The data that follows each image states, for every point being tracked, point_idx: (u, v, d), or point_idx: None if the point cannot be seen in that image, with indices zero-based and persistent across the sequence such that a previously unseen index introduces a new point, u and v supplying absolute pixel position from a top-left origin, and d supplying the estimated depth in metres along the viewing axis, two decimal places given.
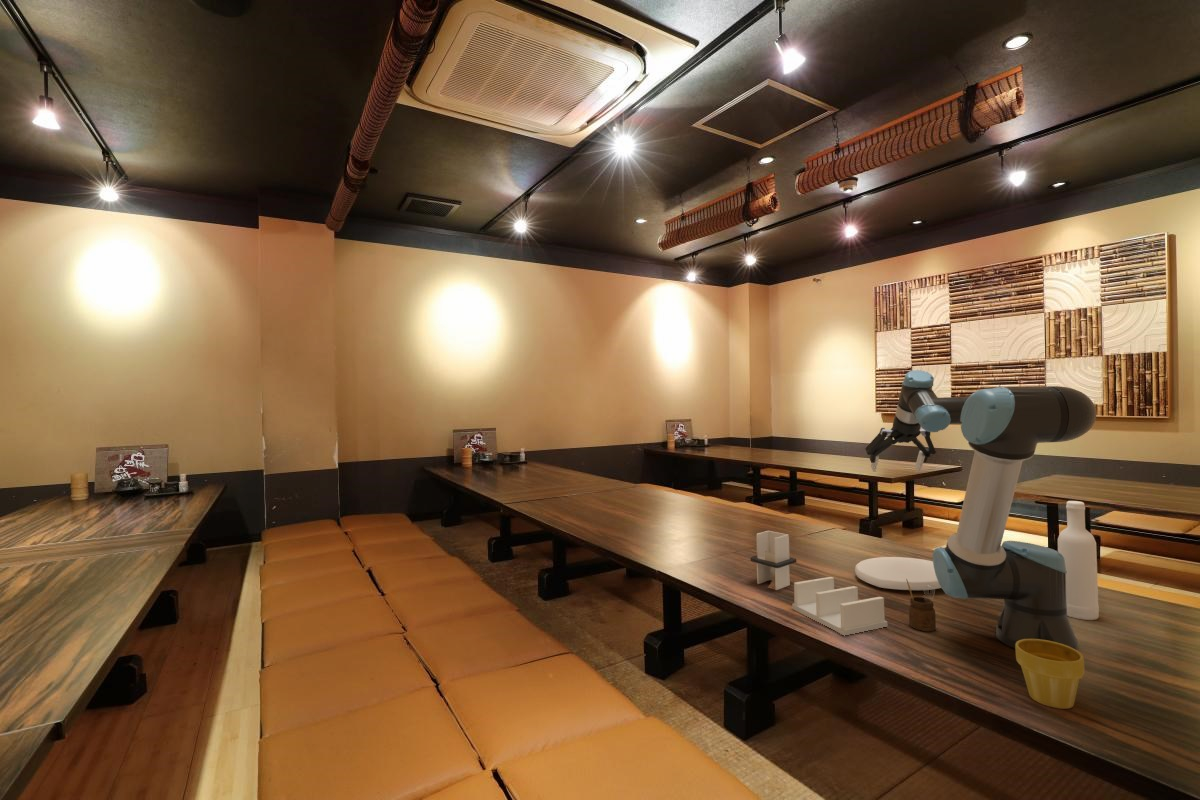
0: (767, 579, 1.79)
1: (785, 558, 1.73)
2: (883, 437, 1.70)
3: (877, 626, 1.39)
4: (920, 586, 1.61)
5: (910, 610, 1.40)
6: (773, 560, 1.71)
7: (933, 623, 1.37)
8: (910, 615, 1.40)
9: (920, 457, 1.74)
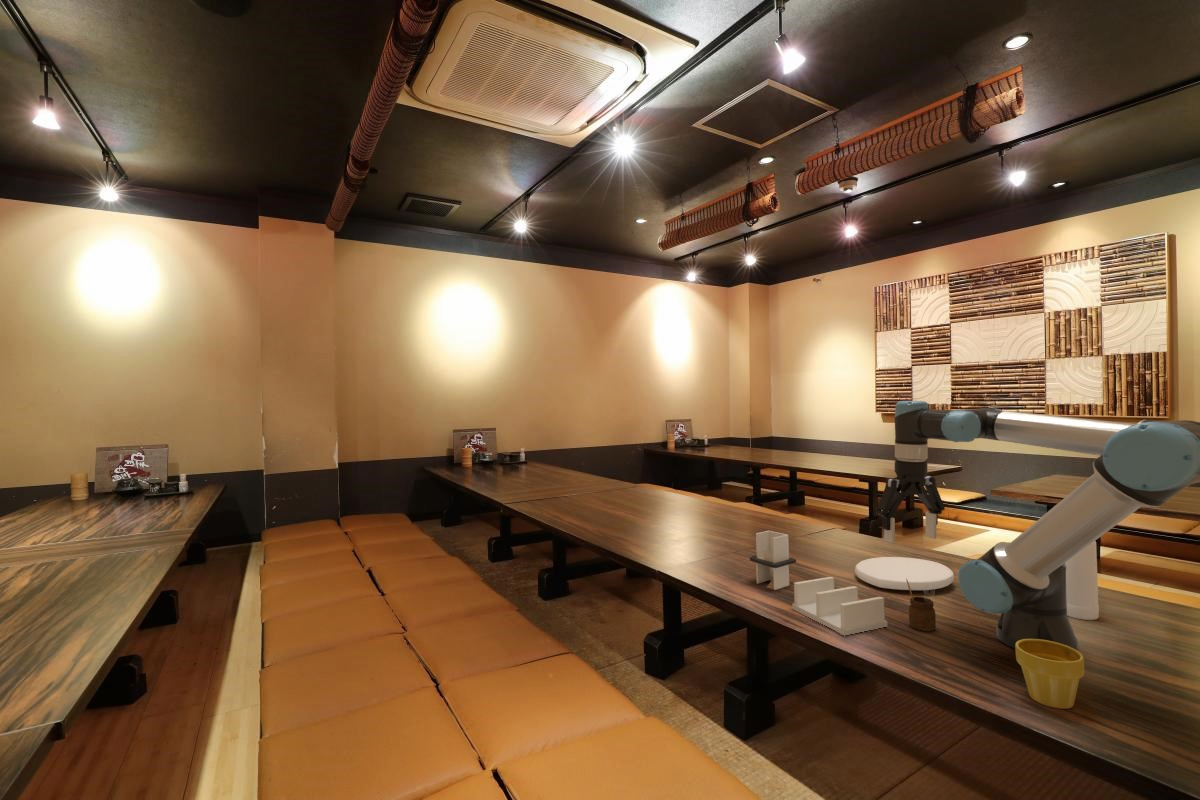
0: (767, 579, 1.79)
1: (784, 558, 1.73)
2: (894, 487, 1.40)
3: (877, 626, 1.39)
4: (920, 586, 1.61)
5: (910, 610, 1.40)
6: (772, 560, 1.71)
7: (933, 623, 1.37)
8: (910, 615, 1.40)
9: (931, 518, 1.45)
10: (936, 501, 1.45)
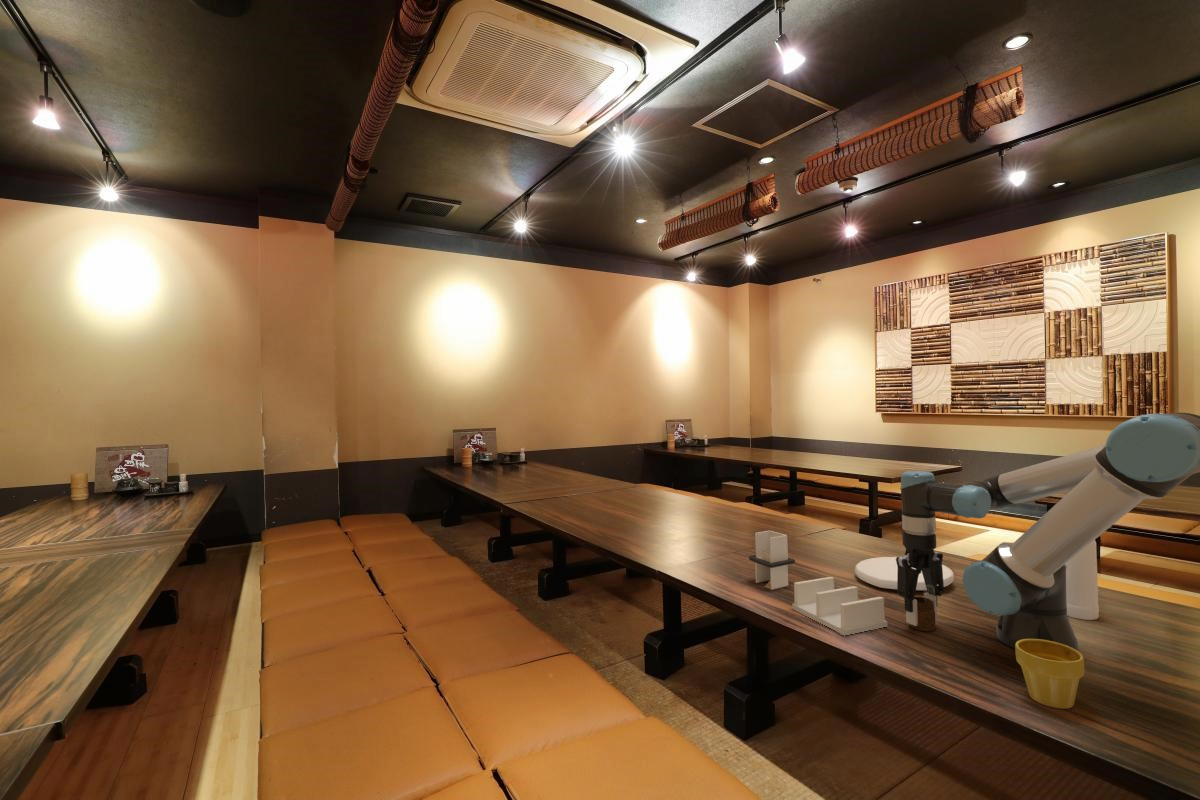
0: (767, 579, 1.79)
1: (782, 558, 1.73)
2: (907, 567, 1.37)
3: (877, 626, 1.39)
4: (920, 586, 1.61)
5: None
6: (769, 560, 1.72)
7: (933, 623, 1.37)
8: None
9: None
10: (937, 580, 1.41)
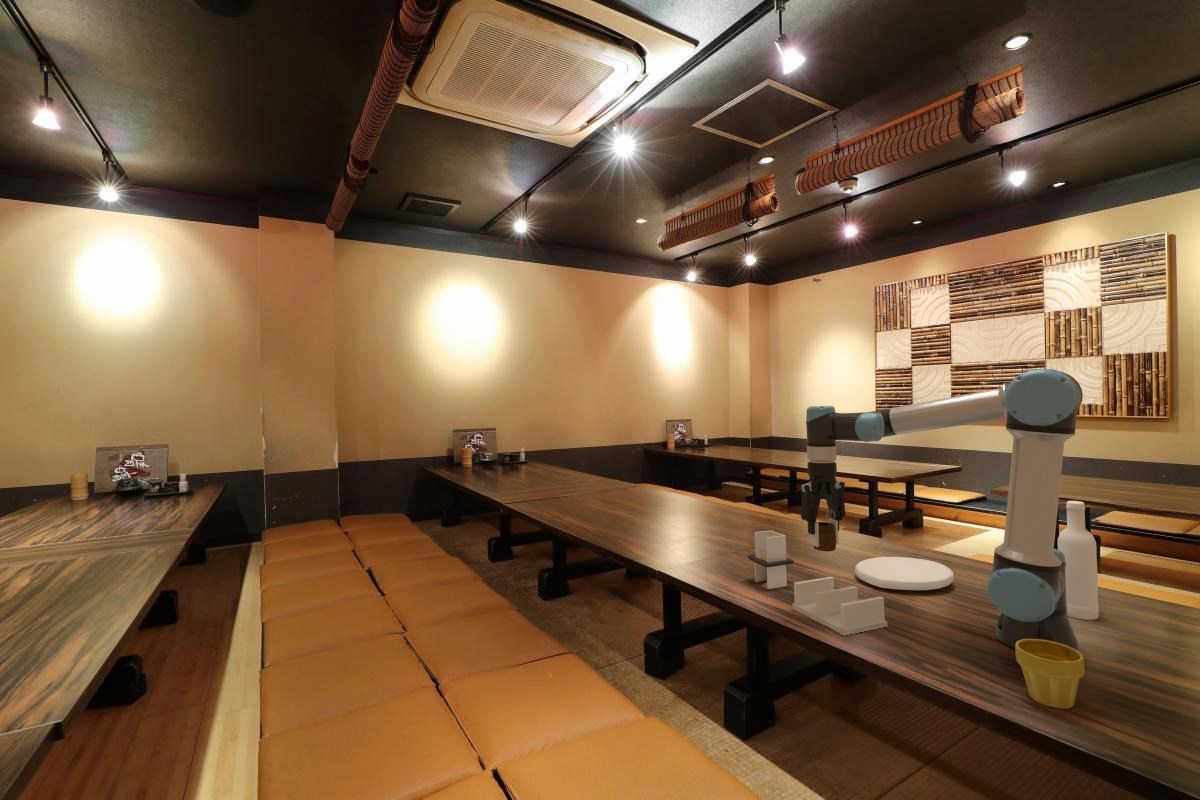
0: None
1: (780, 559, 1.72)
2: (808, 492, 1.49)
3: (877, 626, 1.39)
4: (920, 586, 1.61)
5: None
6: (766, 559, 1.72)
7: (833, 544, 1.49)
8: None
9: (833, 524, 1.52)
10: (839, 506, 1.53)
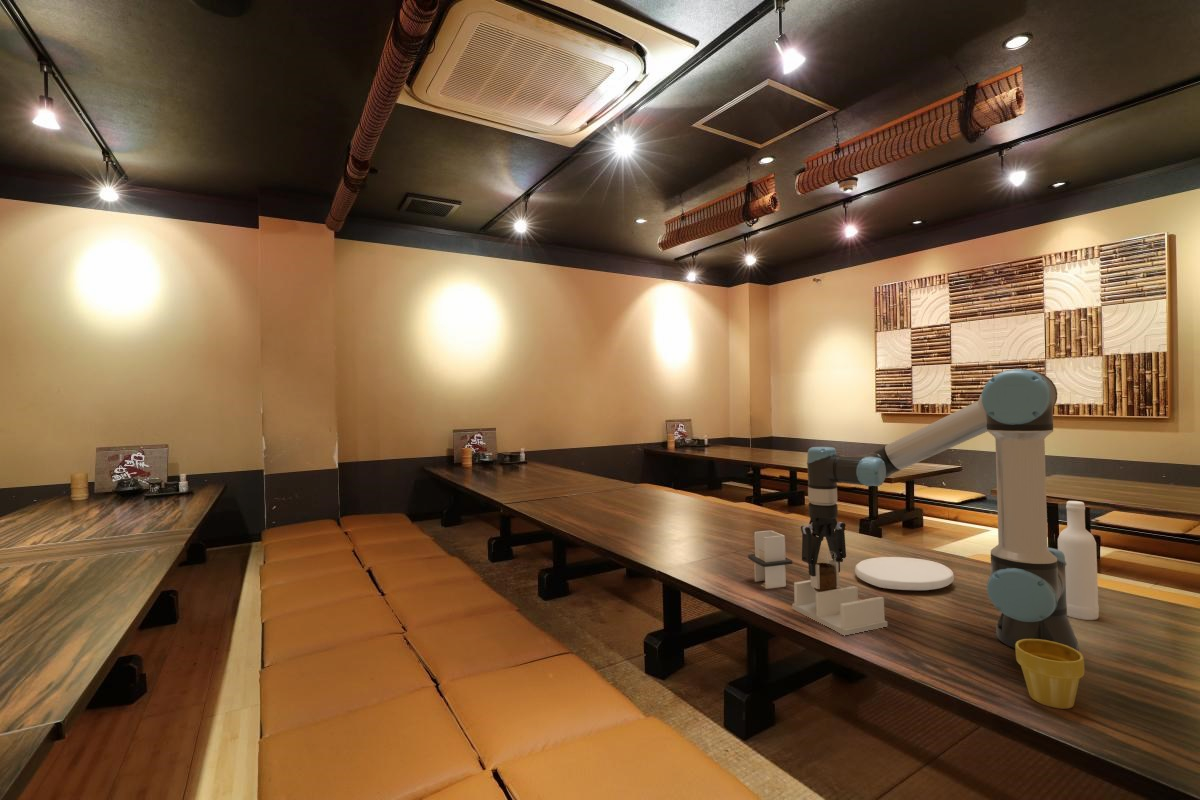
0: None
1: (779, 559, 1.72)
2: (809, 534, 1.49)
3: (877, 626, 1.39)
4: (920, 586, 1.61)
5: None
6: (764, 559, 1.72)
7: (833, 586, 1.49)
8: None
9: None
10: (840, 547, 1.53)
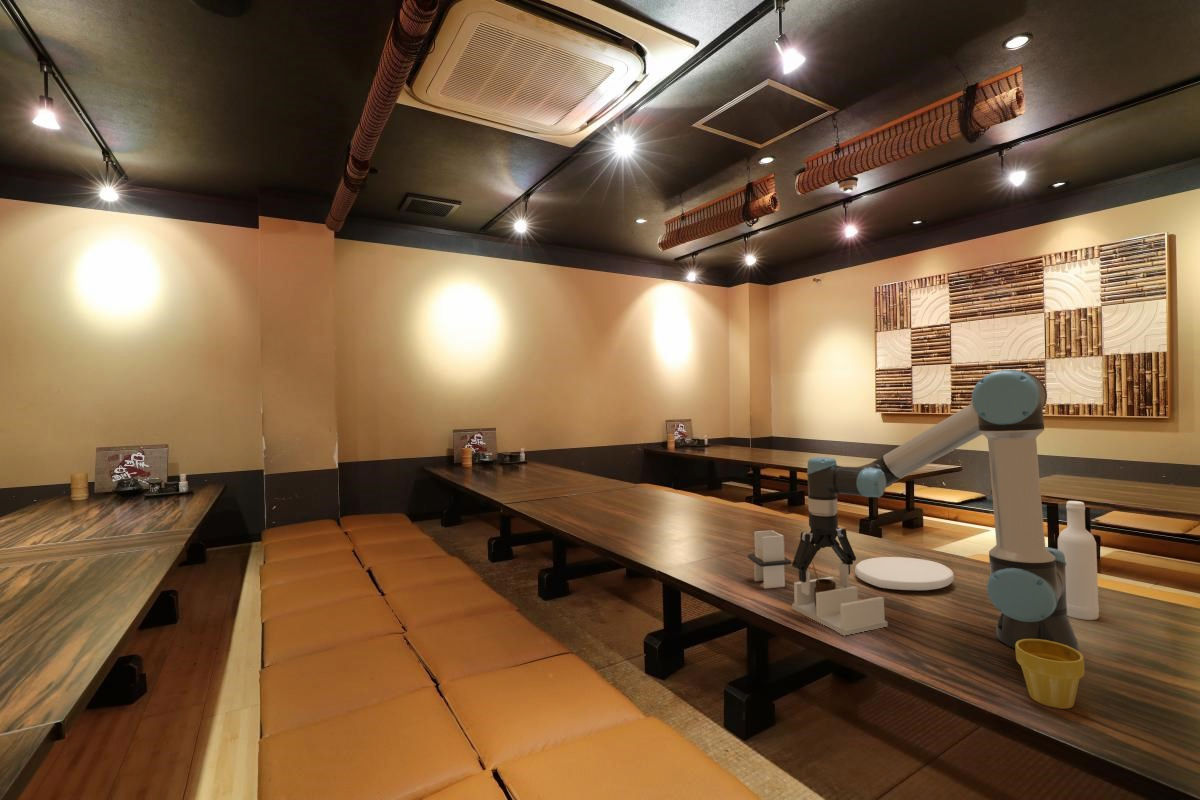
0: None
1: (778, 559, 1.72)
2: (807, 541, 1.48)
3: (877, 626, 1.39)
4: (920, 586, 1.61)
5: (815, 591, 1.51)
6: (763, 559, 1.73)
7: None
8: (815, 595, 1.51)
9: (843, 568, 1.53)
10: (848, 552, 1.53)
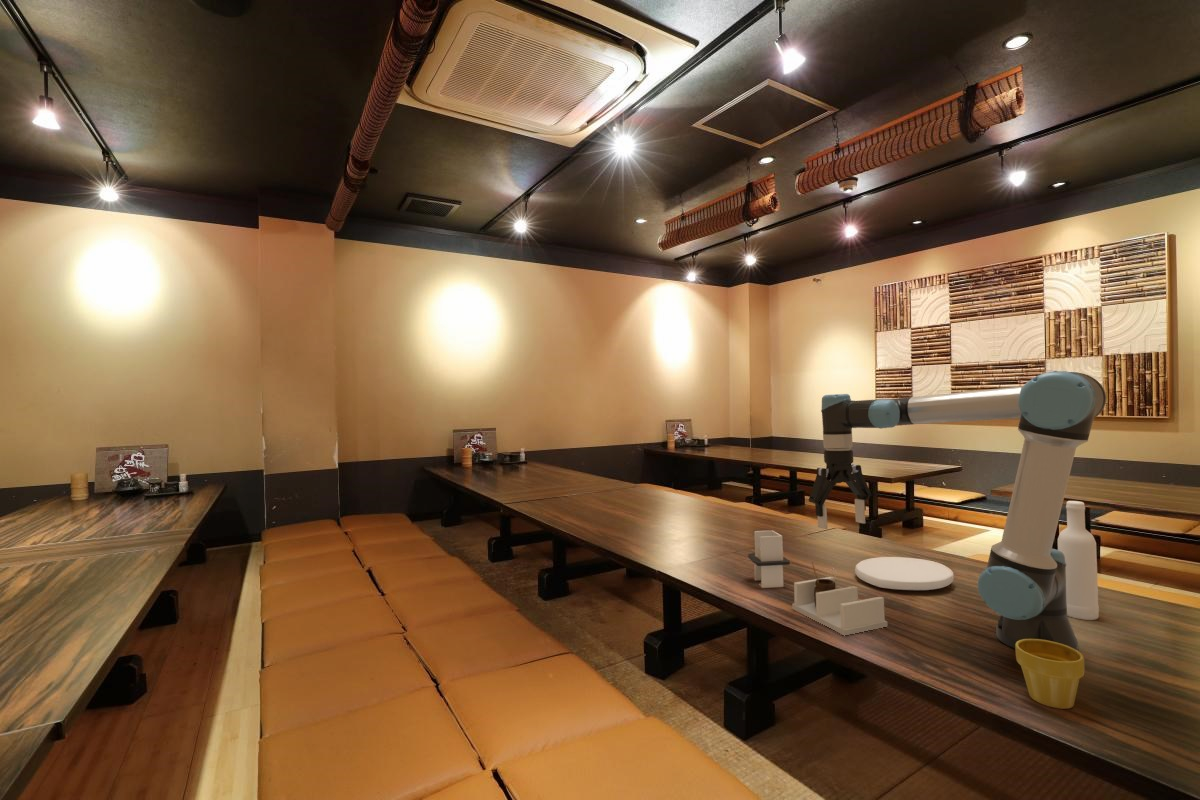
0: None
1: (776, 559, 1.72)
2: (824, 475, 1.49)
3: (877, 626, 1.39)
4: (920, 586, 1.61)
5: (815, 591, 1.51)
6: (761, 558, 1.73)
7: None
8: (815, 595, 1.51)
9: (859, 504, 1.54)
10: (863, 488, 1.54)
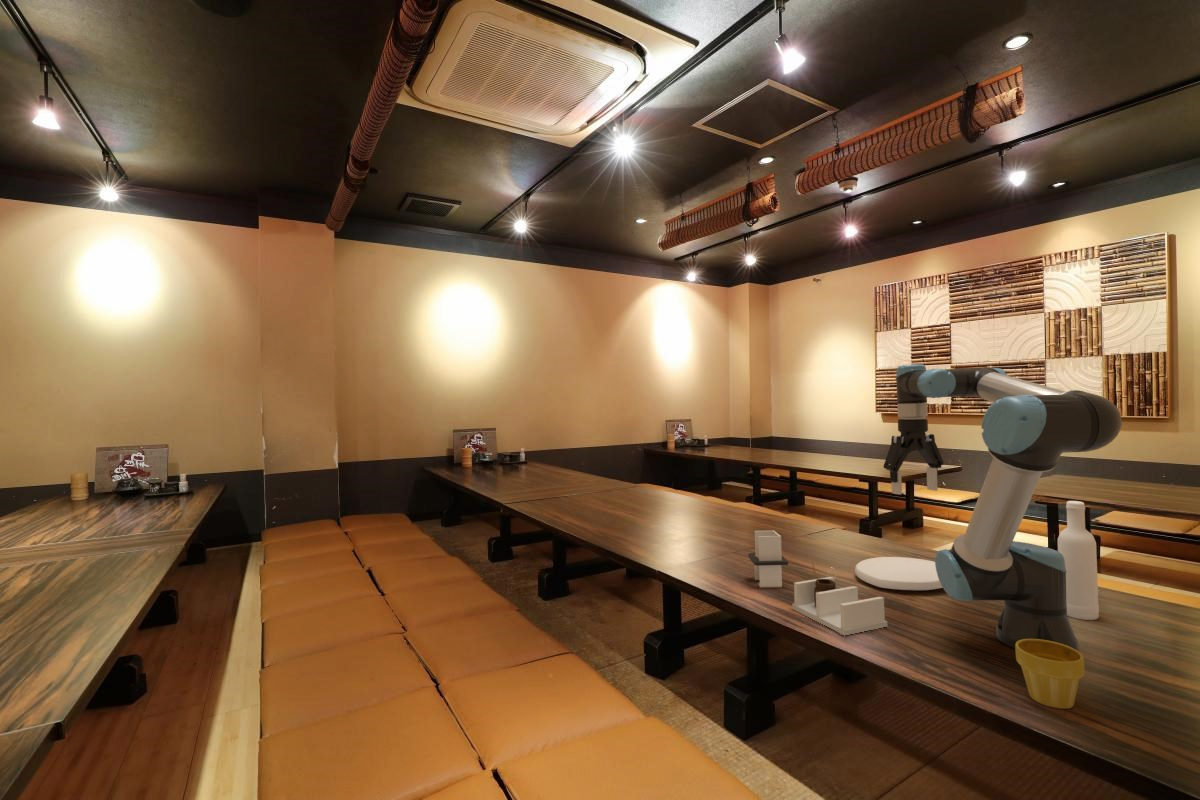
0: None
1: (775, 559, 1.73)
2: (899, 443, 1.54)
3: (877, 626, 1.39)
4: (920, 586, 1.61)
5: (815, 591, 1.51)
6: None
7: None
8: (815, 595, 1.51)
9: (931, 472, 1.59)
10: (936, 456, 1.59)
